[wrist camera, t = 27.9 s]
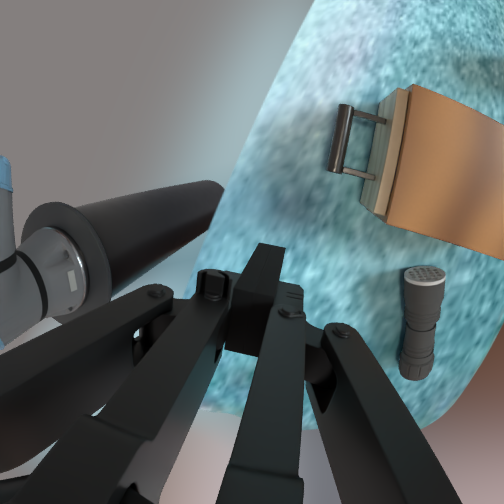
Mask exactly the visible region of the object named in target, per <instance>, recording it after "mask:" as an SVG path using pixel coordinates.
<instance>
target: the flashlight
mask: <svg viewBox="0 0 504 504" xmlns="http://www.w3.org/2000/svg"><path fill="white" fill-rule="evenodd" d="M445 276H446V274H445V272H444V271H443V270H441V269H439V268H436V267H432V266H417V267H412V268H409V269H407V270H406V271H405V273H404V299H405V304H406V305H405V311H404V312H405V313H404V317H405V319H406V320H407V323H406V333H405V338H404V343H403V349H402V351H401V353H400V358H399V370H400V374H401V375H402V376H403V377H404V378H405V379H408V380H412V381H418V380H422V379H424V378H426V377H427V376H428V374H429V372H430V371H431V370H432V367H433V362H434V353H433V350H434V349H433V348H434V343H435V341H434V336H435V329H436V322H437V321H438V320H439V318H440V311H441V307H440V306H441V303H442V301H443V298H444V289H445Z"/></svg>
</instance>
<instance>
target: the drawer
mask: <svg viewBox="0 0 504 504" xmlns="http://www.w3.org/2000/svg"><path fill="white" fill-rule="evenodd" d="M408 95H409V91H407V90H404V89H401V88H397V89H395V90H394V91H393V92H392V93H391V94H389V95H388V96H387V97H386V98H385V99H384V100H382V101H381V102H380V103H379V110H378V116H375V115H372V114H369V113H365V112H361V111H358V110H354V107H352V106H350V105H346V104H339V106H338V112H337V117H336V123H335V128H334V133H333V139H332V144H331V149H330V154H329V159H328V163H327V168H326V171H330V172H334V173H338V174H342V173H346V174H350V175H354V176H358V177H361V178H365V182H364V187H363V191H362V195H361V200H360V203H361V204H362V205H364V206H365V207H367V208H368V209H369V210H371V211H372V212H373V213H376V214H379V215H383V216H385V214H386V210H387V206H389V202H390V197H391V189H392V185H393V181H394V176H395V171H396V167H397V162H398V157H399V151H400V146H401V141H402V135H403V129H404V124H405V122H406V116H407V103H408ZM353 116H355V117H359V118H362V119H366V120H370V121H373V122H376V127H375V133H374V138H373V144H372V149H371V154H370V159H369V164H368V168H367V173H366V172H362V171H358V170H355V169H351V168H347V167H343V165H344V161H345V156H346V151H347V146H348V141H349V135H350V130H351V125H352V119H353Z"/></svg>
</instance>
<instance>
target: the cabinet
mask: <svg viewBox="0 0 504 504" xmlns="http://www.w3.org/2000/svg"><path fill="white" fill-rule="evenodd" d="M405 90H407V91H409V95H408V103H407V116H406V122H405V128H404V134H403V140H402V145H401V151H400V156H399V161H398V166H397V171H396V175H395V180H394V185H393V189H392V193H391V197H390V202H389V206H387V210H386V214H385V216H383V215H379V214H376V213H373V212H372V211H371V210H369V209H368V208H367V210H369V211H370V212H371V213H373V214H374V215H375V216H377V217H378V218H379V219H380V220H382V221H383V222H384V223H386V224H387V225H391V226H395V227H398V228H402V229H405V230H409V231H412V232H416V233H419V234H423V235H426V236H429V237H433V238H436V239H439V240H443V241H446V242H449V243H452V244H455V245H458V246H462V247H465V248H468V249H471V250H474V251H477V252H480V253H483V254H486V255H489V256H492V257H495V258H498V259H500V260H503V261H504V125H502V124H500V123H499V122H497V121H495V120H493V119H491V118H489V117H488V116H486V115H484V114H482V113H480V112H478V111H476V110H474V109H472V108H470V107H468V106H465V105H463V104H461V103H459V102H457V101H455V100H452V99H450V98H448V97H445V96H443V95H441V94H438V93H436V92H433V91H431V90H428V89H426V88H423V87H421V86H418V85H415V84H412V85H411V86H409V87H408V88H406V89H405Z"/></svg>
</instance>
